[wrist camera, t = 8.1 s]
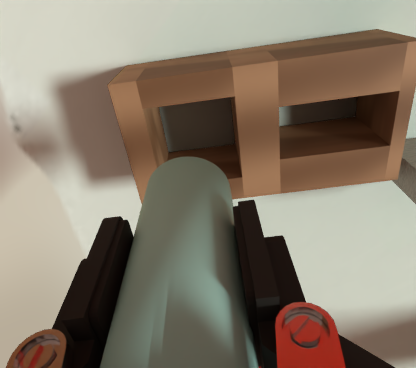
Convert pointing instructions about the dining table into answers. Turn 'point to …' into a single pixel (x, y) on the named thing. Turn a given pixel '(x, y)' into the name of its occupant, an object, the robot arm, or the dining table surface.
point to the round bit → (183, 277)
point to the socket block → (269, 111)
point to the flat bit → (408, 170)
